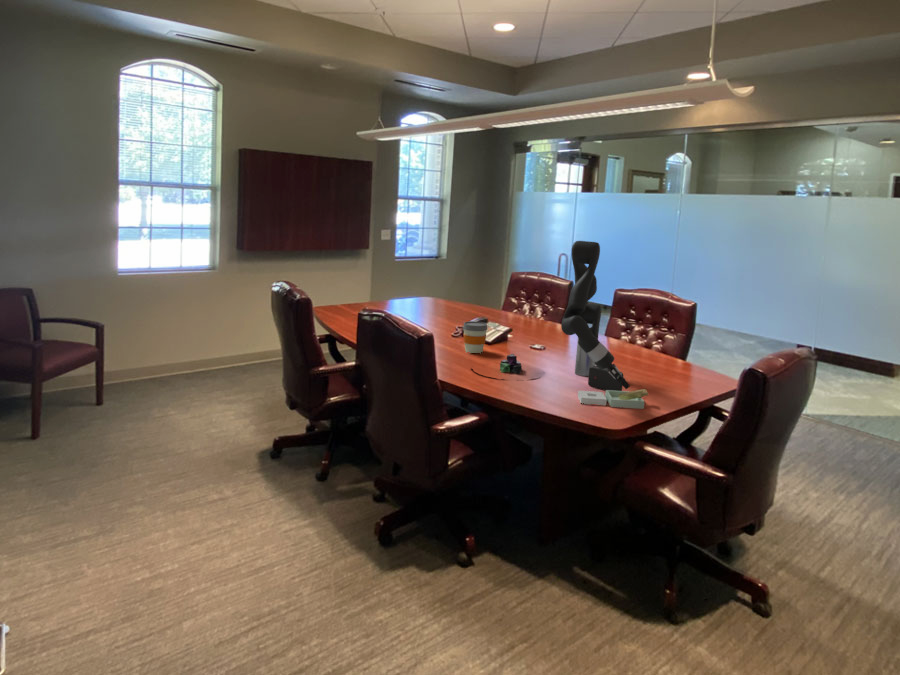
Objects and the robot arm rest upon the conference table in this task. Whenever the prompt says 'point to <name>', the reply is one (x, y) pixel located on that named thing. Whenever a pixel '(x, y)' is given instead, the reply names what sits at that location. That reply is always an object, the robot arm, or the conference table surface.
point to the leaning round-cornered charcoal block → (603, 379)
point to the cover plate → (592, 397)
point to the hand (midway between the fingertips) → (625, 384)
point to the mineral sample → (511, 365)
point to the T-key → (633, 394)
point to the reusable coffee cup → (474, 336)
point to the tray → (616, 402)
